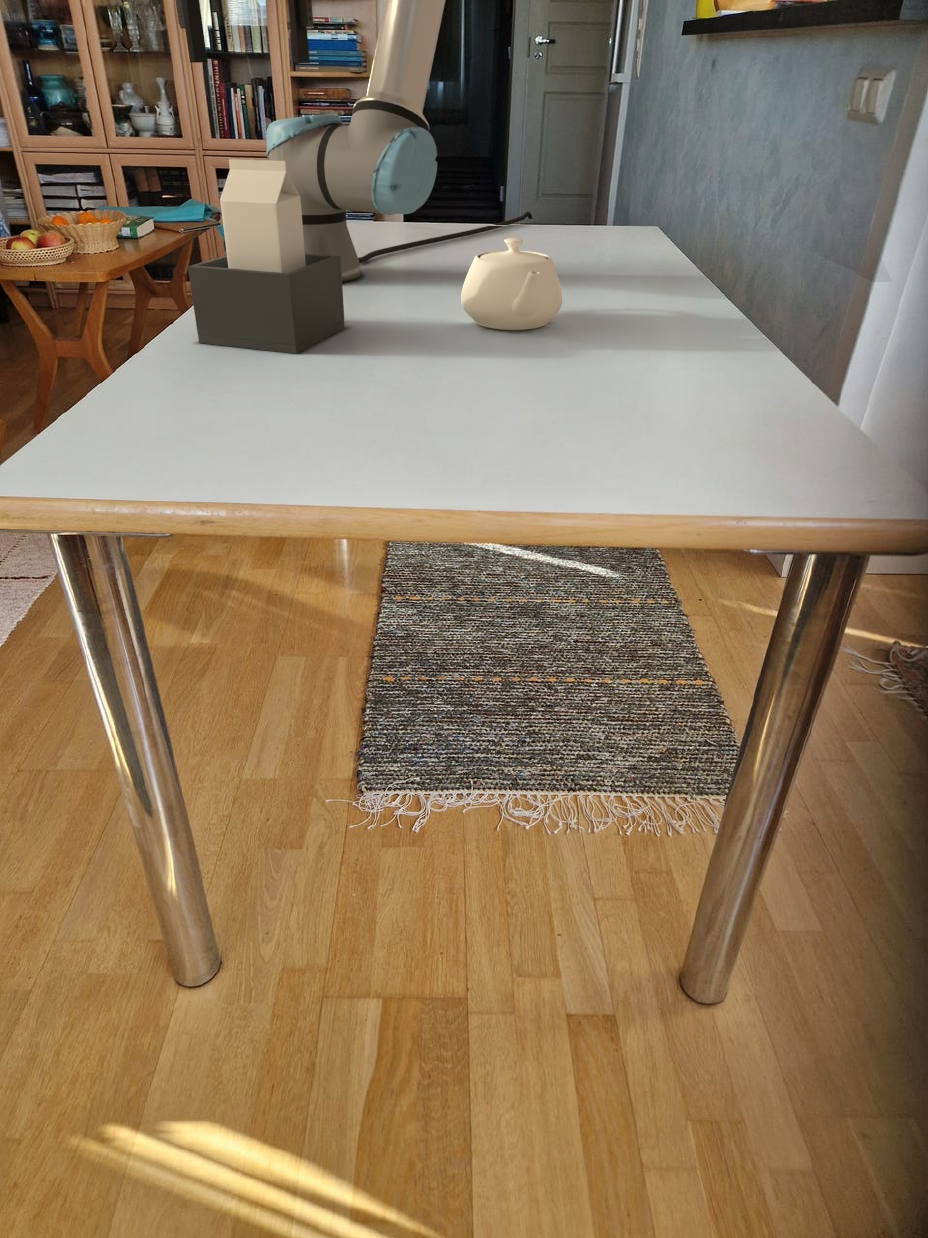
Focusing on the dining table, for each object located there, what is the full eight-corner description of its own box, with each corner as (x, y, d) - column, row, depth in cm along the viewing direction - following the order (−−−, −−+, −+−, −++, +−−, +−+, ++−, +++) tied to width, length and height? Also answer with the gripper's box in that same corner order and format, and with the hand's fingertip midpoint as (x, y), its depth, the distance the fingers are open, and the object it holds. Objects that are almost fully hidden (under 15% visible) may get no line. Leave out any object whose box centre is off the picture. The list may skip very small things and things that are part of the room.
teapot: (447, 307, 125) (447, 227, 120) (538, 304, 128) (542, 225, 122) (480, 347, 107) (482, 254, 101) (585, 342, 110) (593, 251, 104)
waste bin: (254, 319, 118) (246, 248, 113) (345, 327, 115) (340, 255, 110) (198, 343, 107) (187, 266, 102) (296, 353, 104) (289, 274, 99)
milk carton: (289, 336, 107) (272, 163, 97) (236, 332, 108) (214, 161, 98) (310, 322, 113) (297, 158, 102) (260, 319, 114) (242, 156, 104)
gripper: (98, -179, 90) (139, 62, 102) (315, -195, 84) (333, 63, 96) (140, -165, 96) (175, 61, 108) (346, -179, 90) (359, 62, 102)
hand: (249, 62), depth 102 cm, fingers open, 13 cm apart
